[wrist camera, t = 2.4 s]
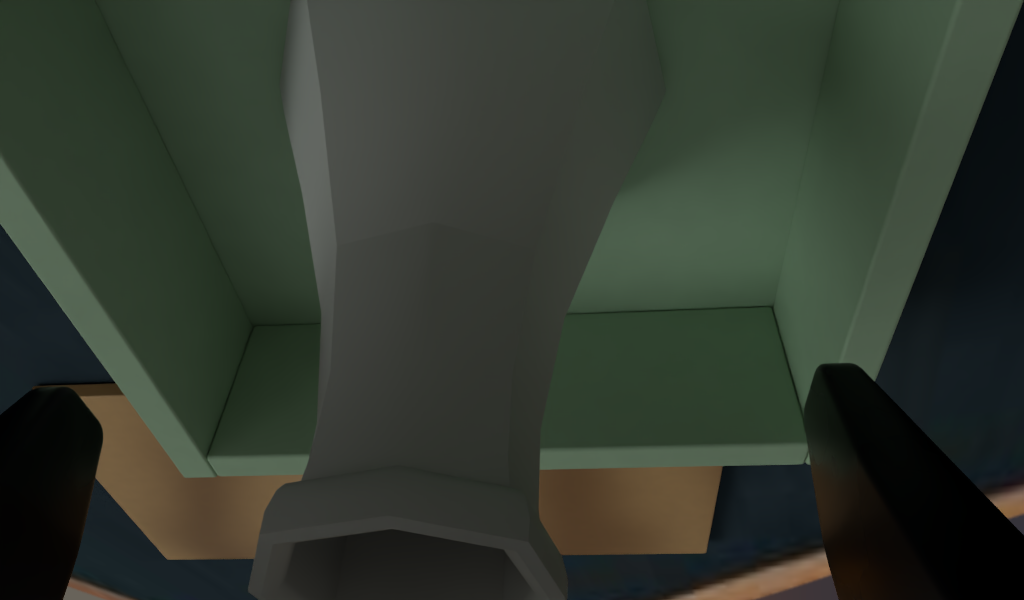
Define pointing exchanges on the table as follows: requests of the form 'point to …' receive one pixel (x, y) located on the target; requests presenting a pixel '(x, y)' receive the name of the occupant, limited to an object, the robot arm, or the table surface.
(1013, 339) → the table surface
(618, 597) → the table surface
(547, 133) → the flask
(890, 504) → the robot arm
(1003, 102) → the table surface
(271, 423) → the bin
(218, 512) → the cork mat
